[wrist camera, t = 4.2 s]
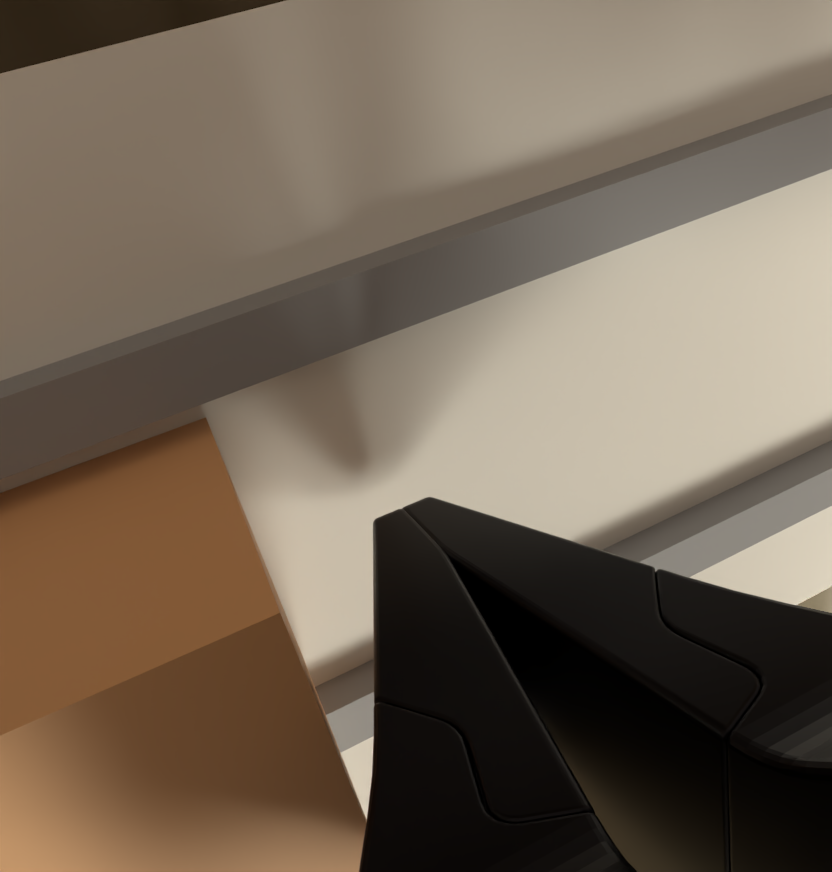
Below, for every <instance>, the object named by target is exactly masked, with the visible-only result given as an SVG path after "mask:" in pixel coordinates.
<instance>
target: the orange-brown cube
mask: <svg viewBox="0 0 832 872" xmlns="http://www.w3.org/2000/svg"><path fill="white" fill-rule="evenodd" d="M366 822H367V819H366V817H365V814H364V812H363V809H362V807H361V804H360V801H359V799H358V796H357V794H356V791H355V789H354V786H353V784H352V781H351V778H350V776H349V773H348V771H347V768H346V766H345V763H344V760H343V758H342V755H341V753H340V750H339V748H338V745H337V743H336V740H335V737H334V735H333V732H332V730H331V727H330V725H329V722H328V720H327V717H326V714H325V712H324V709H323V707H322V704H321V702H320V699H319V696H318V694H317V691H316V689H315V686H314V684H313V681H312V679H311V676H310V673H309V671H308V668H307V666H306V663H305V661H304V658H303V656H302V653H301V651H300V648H299V646H298V643H297V641H296V638H295V636H294V633H293V631H292V628H291V626H290V624H289V621H288V619H287V616H286V614H285V611H284V609H283V606H282V604H281V601H280V599H279V596H278V594H277V591H276V589H275V587H274V584H273V582H272V579H271V577H270V574H269V572H268V569H267V567H266V564H265V562H264V559H263V557H262V554H261V552H260V549H259V547H258V545H257V542H256V540H255V537H254V535H253V532H252V530H251V527H250V525H249V522H248V520H247V517H246V515H245V512H244V510H243V508H242V505H241V503H240V500H239V498H238V495H237V493H236V490H235V488H234V485H233V483H232V480H231V478H230V475H229V473H228V471H227V468H226V466H225V463H224V461H223V458H222V456H221V453H220V451H219V448H218V446H217V443H216V441H215V438H214V436H213V434H212V431H211V429H210V426H209V424H208V421H207V419H206V417H205V418H203V419H200V420H197V421H195V422H192V423H189V424H186V425H184V426H181V427H178V428H176V429H173V430H170V431H167V432H165V433H162V434H159V435H157V436H154V437H151V438H148V439H146V440H143V441H140V442H138V443H135V444H132V445H129V446H127V447H124V448H121V449H119V450H116V451H113V452H110V453H108V454H105V455H102V456H99V457H97V458H94V459H91V460H89V461H86V462H83V463H80V464H78V465H75V466H72V467H70V468H67V469H64V470H61V471H59V472H56V473H53V474H51V475H48V476H45V477H42V478H40V479H37V480H34V481H32V482H29V483H26V484H23V485H21V486H18V487H15V488H13V489H10V490H7V491H4V492H2V493H0V872H359V867H360V860H361V854H362V847H363V841H364V835H365V828H366Z"/></svg>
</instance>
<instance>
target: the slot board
mask: <svg viewBox="0 0 832 872" xmlns="http://www.w3.org/2000/svg"><path fill="white" fill-rule="evenodd" d="M205 417H206V419H207V421H208V424H209V426H210V429H211V431H212V434H213V436H214V438H215V441H216V443H217V446H218V448H219V451H220V453H221V456H222V458H223V461H224V463H225V466H226V468H227V471H228V473H229V475H230V478H231V480H232V483H233V485H234V488H235V490H236V493H237V495H238V498H239V500H240V503H241V505H242V508H243V510H244V512H245V515H246V517H247V520H248V522H249V525H250V527H251V530H252V532H253V535H254V537H255V540H256V542H257V545H258V547H259V549H260V552H261V554H262V557H263V559H264V562H265V564H266V567H267V569H268V572H269V574H270V577H271V579H272V582H273V584H274V587H275V589H276V591H277V594H278V596H279V599H280V601H281V604H282V606H283V609H284V611H285V614H286V616H287V619H288V621H289V624H290V626H291V628H292V631H293V633H294V636H295V638H296V641H297V643H298V646H299V648H300V651H301V653H302V656H303V658H304V661H305V663H306V666H307V668H308V671H309V673H310V676H311V679H312V681H313V684H314V686H315V689H316V691H317V694H318V696H319V699H320V702H321V704H322V707H323V709H324V712H325V714H326V717H327V720H328V722H329V725H330V727H331V730H332V732H333V735H334V737H335V740H336V743H337V745H338V748H339V750H340V753H341V755H342V758H343V760H344V763H345V766H346V768H347V771H348V773H349V776H350V778H351V781H352V784H353V786H354V789H355V791H356V794H357V796H358V799H359V801H360V804H361V807H362V809H363V812H364V814H365V817H366V819H367V814H368V805H369V796H370V788H371V779H372V764H373V737H374V706H375V704H374V636H373V522H374V520H375V519H376V518H378V517H381V516H383V515H385V514H388V513H390V512H393V511H395V510H397V509H402V508H403V507H405V506H407V505H409V504H412V503H414V502H416V501H419V500H421V499H424V498H426V497H433V498H437V499H440V500H443V501H446V502H450V503H453V504H456V505H459V506H462V507H465V508H469V509H472V510H475V511H478V512H481V513H485V514H488V515H491V516H494V517H497V518H501V519H504V520H507V521H510V522H513V523H516V524H520V525H523V526H526V527H529V528H532V529H536V530H539V531H542V532H545V533H548V534H552V535H555V536H558V537H561V538H564V539H568V540H571V541H574V542H577V543H580V544H583V545H587V546H590V547H593V548H596V549H599V550H603V551H606V552H609V553H612V554H615V555H619V556H622V557H625V558H628V559H631V560H634V561H638V562H641V563H644V564H647V565H650V566H653V567H654V568H655V571H657V569H664V570H667V571H670V572H673V573H677V574H680V575H683V576H686V577H689V578H693V579H696V580H700V581H703V582H707V583H710V584H714V585H717V586H721V587H724V588H728V589H731V590H735V591H739V592H743V593H747V594H751V595H755V596H759V597H763V598H768V599H772V600H776V601H780V602H784V603H788V604H793V605H798V604H799V603H801V602H803V601H805V600H807V599H809V598H811V597H813V596H814V595H816V594H818V593H820V592H822V591H824V590H826V589H828V588H829V587H831V586H832V0H286V1H282V2H278V3H274V4H270V5H266V6H263V7H259V8H255V9H251V10H247V11H243V12H239V13H235V14H231V15H227V16H223V17H220V18H216V19H212V20H208V21H204V22H200V23H196V24H192V25H188V26H184V27H180V28H176V29H173V30H169V31H165V32H161V33H157V34H153V35H149V36H145V37H141V38H137V39H133V40H130V41H126V42H122V43H118V44H114V45H110V46H106V47H102V48H98V49H94V50H90V51H86V52H83V53H79V54H75V55H71V56H67V57H63V58H59V59H55V60H51V61H47V62H43V63H40V64H36V65H32V66H28V67H24V68H20V69H16V70H12V71H8V72H4V73H0V493H2V492H4V491H7V490H10V489H13V488H15V487H18V486H21V485H23V484H26V483H29V482H32V481H34V480H37V479H40V478H42V477H45V476H48V475H51V474H53V473H56V472H59V471H61V470H64V469H67V468H70V467H72V466H75V465H78V464H80V463H83V462H86V461H89V460H91V459H94V458H97V457H99V456H102V455H105V454H108V453H110V452H113V451H116V450H119V449H121V448H124V447H127V446H129V445H132V444H135V443H138V442H140V441H143V440H146V439H148V438H151V437H154V436H157V435H159V434H162V433H165V432H167V431H170V430H173V429H176V428H178V427H181V426H184V425H186V424H189V423H192V422H195V421H197V420H200V419H203V418H205Z"/></svg>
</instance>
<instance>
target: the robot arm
mask: <svg viewBox="0 0 832 872" xmlns="http://www.w3.org/2000/svg"><path fill="white" fill-rule="evenodd" d="M373 636H374V704H375V706H374V737H373V764H372V779H371V788H370V796H369V805H368V814H367V822H366V828H365V835H364V841H363V847H362V854H361V860H360V867H359V872H832V613H829V612H824V611H820V610H815V609H811V608H806V607H802V606H797V605H793V604H788V603H784V602H780V601H776V600H772V599H768V598H763V597H759V596H755V595H751V594H747V593H743V592H739V591H735V590H731V589H728V588H724V587H721V586H717V585H714V584H710V583H707V582H703V581H700V580H696V579H693V578H689V577H686V576H683V575H680V574H677V573H673V572H670V571H667V570H664V569H657V571H655V568H654V567H653V566H650V565H647V564H644V563H641V562H638V561H634V560H631V559H628V558H625V557H622V556H619V555H615V554H612V553H609V552H606V551H603V550H599V549H596V548H593V547H590V546H587V545H583V544H580V543H577V542H574V541H571V540H568V539H564V538H561V537H558V536H555V535H552V534H548V533H545V532H542V531H539V530H536V529H532V528H529V527H526V526H523V525H520V524H516V523H513V522H510V521H507V520H504V519H501V518H497V517H494V516H491V515H488V514H485V513H481V512H478V511H475V510H472V509H469V508H465V507H462V506H459V505H456V504H453V503H450V502H446V501H443V500H440V499H437V498H433V497H426V498H424V499H421V500H419V501H416V502H414V503H412V504H409V505H407V506H405V507H403V508H402V509H397V510H395V511H393V512H390V513H388V514H385V515H383V516H381V517H378V518H376V519H375V520H374V522H373Z"/></svg>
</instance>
